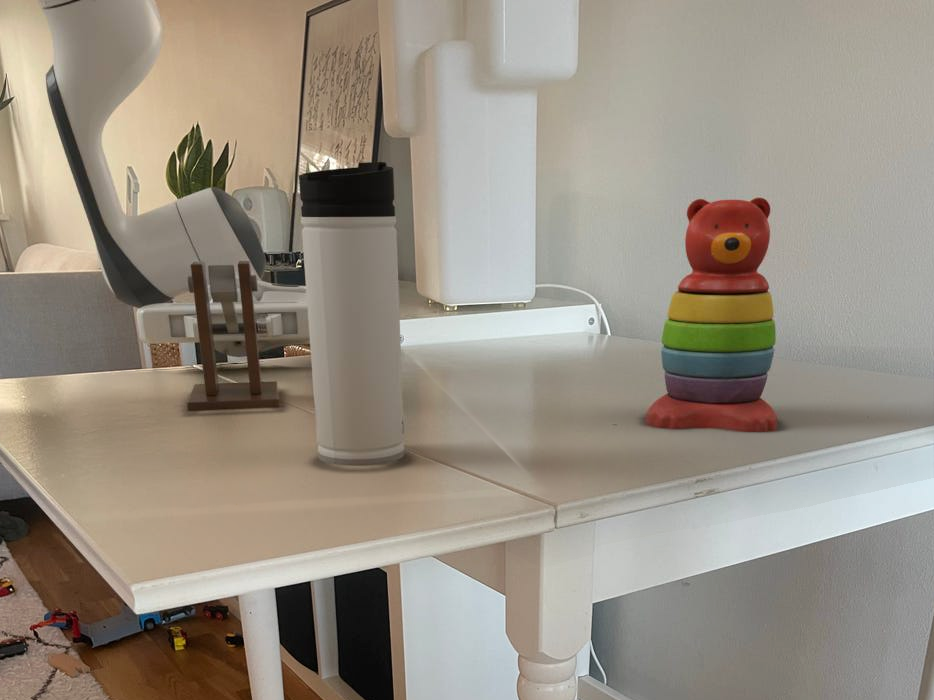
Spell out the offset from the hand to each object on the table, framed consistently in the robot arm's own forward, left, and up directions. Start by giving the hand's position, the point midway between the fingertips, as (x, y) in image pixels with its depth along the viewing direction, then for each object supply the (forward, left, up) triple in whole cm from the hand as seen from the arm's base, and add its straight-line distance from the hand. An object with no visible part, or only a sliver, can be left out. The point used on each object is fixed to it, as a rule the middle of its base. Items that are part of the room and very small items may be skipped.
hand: (232, 329), depth 100 cm
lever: (+2, -6, +2) cm, 7 cm away
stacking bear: (+46, -18, -6) cm, 50 cm away
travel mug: (+18, -34, -6) cm, 39 cm away
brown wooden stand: (+3, -12, -6) cm, 13 cm away
